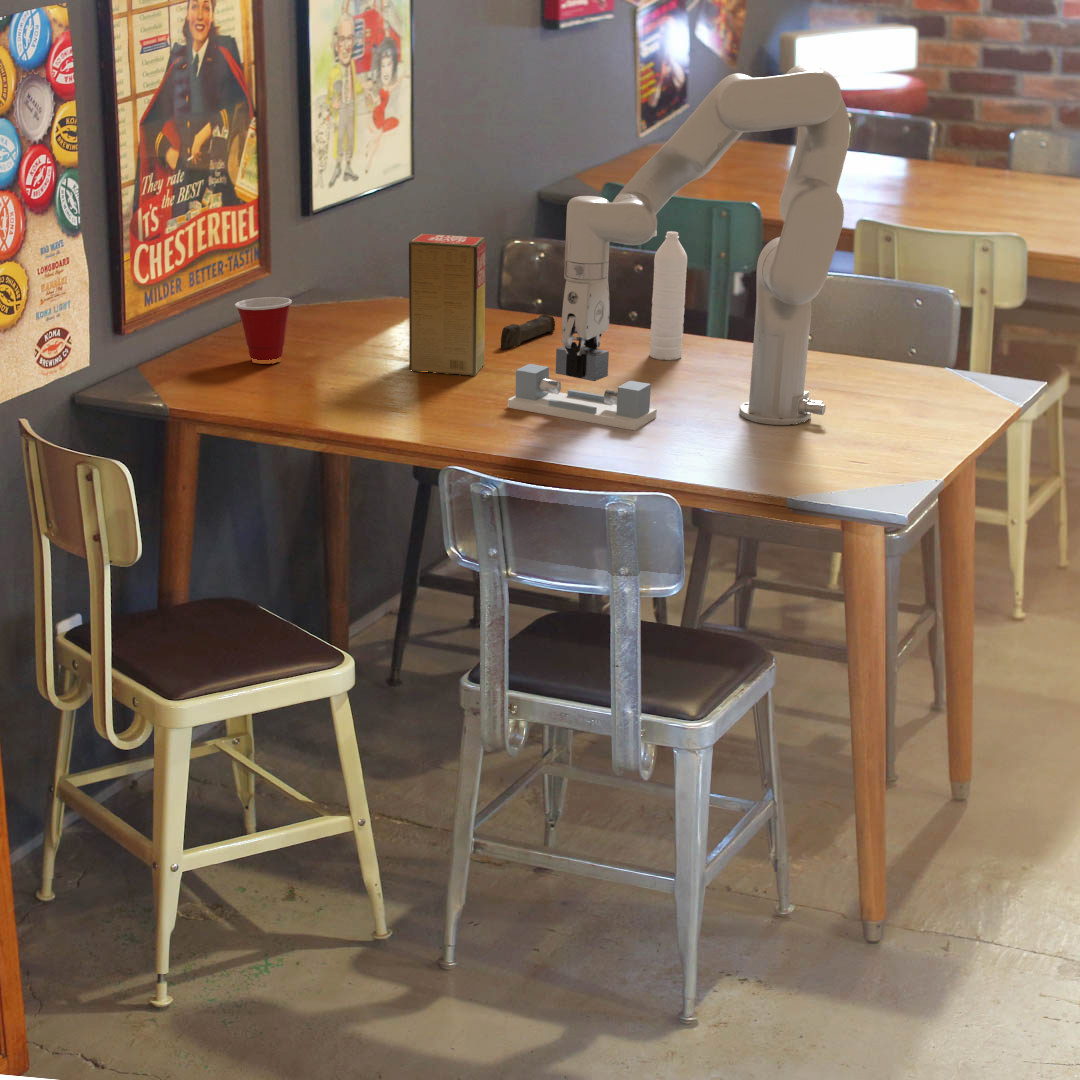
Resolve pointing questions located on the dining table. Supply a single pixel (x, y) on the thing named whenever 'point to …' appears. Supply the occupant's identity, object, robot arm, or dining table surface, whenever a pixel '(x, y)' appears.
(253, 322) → the plastic cup
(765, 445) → the dining table surface
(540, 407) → the shaft stand
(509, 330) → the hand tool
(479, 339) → the food packaging
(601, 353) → the block
